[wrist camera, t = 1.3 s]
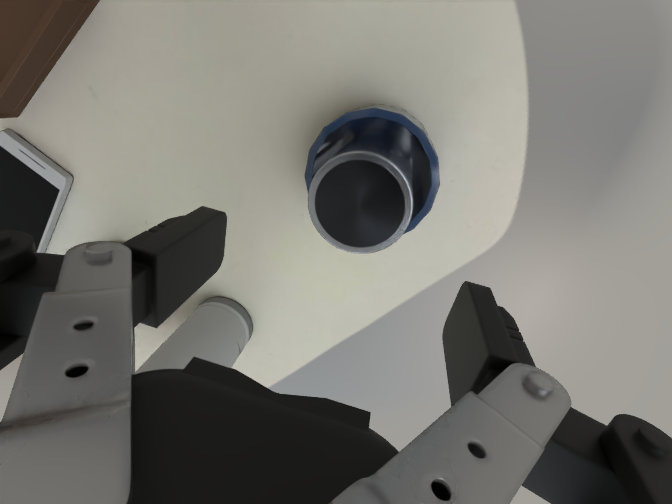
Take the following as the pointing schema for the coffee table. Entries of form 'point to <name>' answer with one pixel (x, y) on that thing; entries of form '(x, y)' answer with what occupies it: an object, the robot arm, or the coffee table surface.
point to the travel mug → (205, 337)
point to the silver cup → (364, 193)
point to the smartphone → (30, 189)
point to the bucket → (396, 122)
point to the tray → (34, 45)
